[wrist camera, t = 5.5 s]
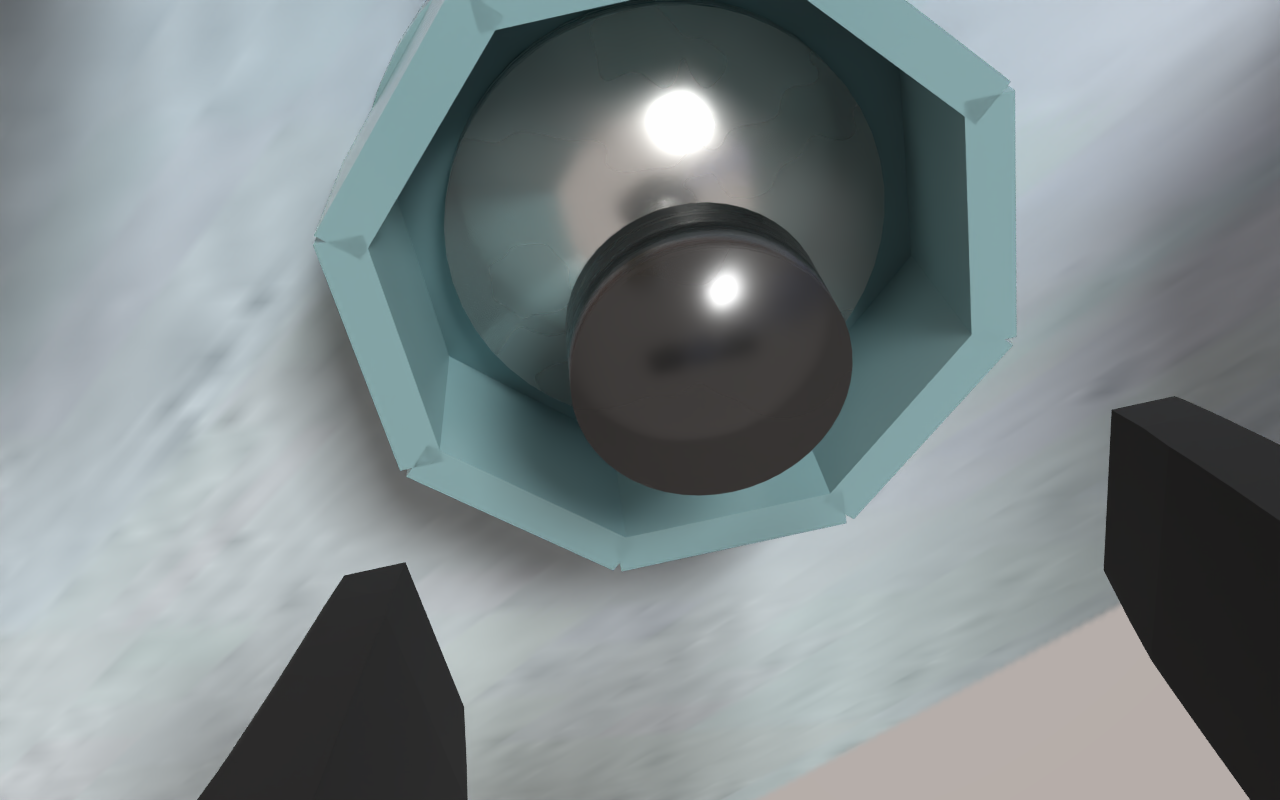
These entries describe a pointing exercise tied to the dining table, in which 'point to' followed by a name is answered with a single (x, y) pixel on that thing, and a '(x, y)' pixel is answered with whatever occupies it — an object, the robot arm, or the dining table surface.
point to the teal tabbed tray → (548, 429)
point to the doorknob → (671, 236)
